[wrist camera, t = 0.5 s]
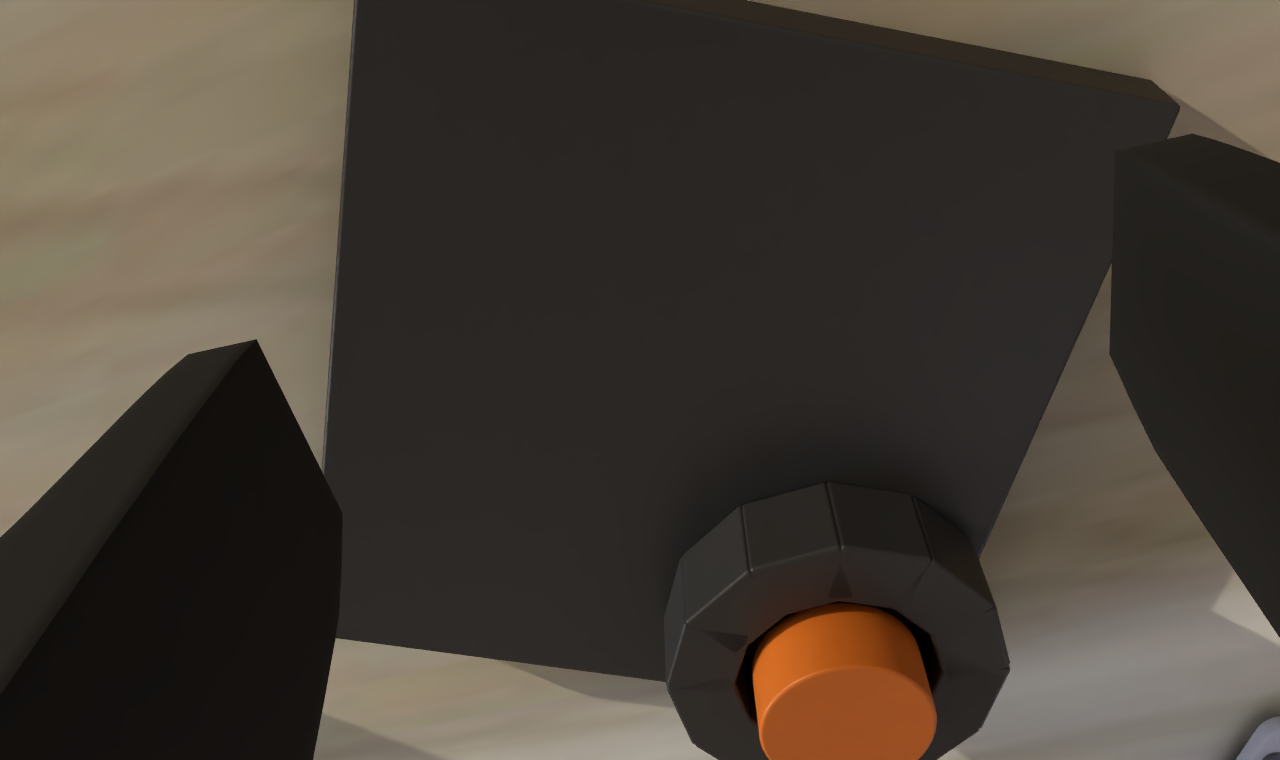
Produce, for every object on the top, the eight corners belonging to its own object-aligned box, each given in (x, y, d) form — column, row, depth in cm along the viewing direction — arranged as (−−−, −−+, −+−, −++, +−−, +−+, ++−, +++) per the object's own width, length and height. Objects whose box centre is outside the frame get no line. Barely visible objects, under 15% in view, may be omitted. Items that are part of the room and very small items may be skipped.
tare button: (890, 731, 23) (906, 799, 21) (734, 710, 22) (740, 778, 21) (942, 613, 21) (962, 680, 20) (774, 590, 21) (785, 655, 20)
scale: (913, 689, 26) (943, 806, 23) (321, 609, 25) (286, 725, 22) (1181, 84, 19) (1267, 159, 16) (372, -75, 17) (329, -21, 15)
